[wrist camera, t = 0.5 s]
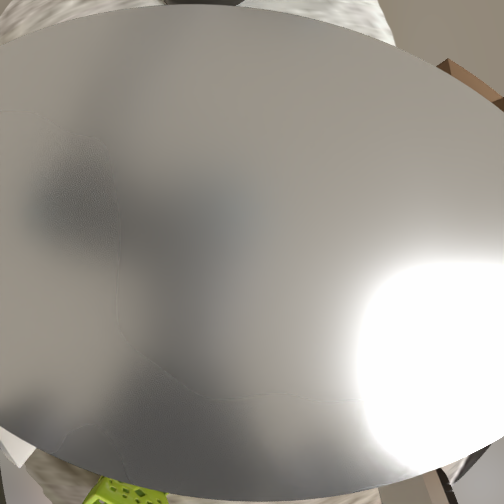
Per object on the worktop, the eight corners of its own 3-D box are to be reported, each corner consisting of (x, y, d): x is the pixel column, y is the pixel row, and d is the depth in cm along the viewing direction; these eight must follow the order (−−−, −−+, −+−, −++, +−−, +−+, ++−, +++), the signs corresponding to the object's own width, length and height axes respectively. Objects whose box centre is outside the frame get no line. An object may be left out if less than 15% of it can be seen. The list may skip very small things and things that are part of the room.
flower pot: (180, 482, 38) (173, 531, 25) (151, 504, 38) (142, 545, 26) (114, 447, 37) (92, 494, 24) (94, 473, 37) (75, 512, 24)
